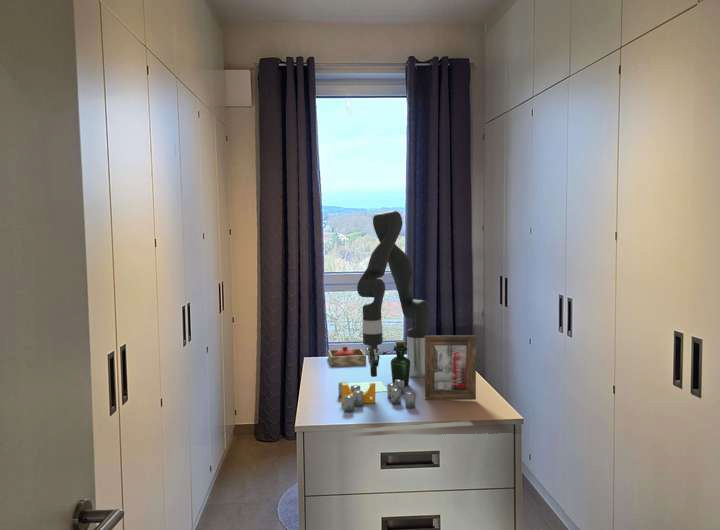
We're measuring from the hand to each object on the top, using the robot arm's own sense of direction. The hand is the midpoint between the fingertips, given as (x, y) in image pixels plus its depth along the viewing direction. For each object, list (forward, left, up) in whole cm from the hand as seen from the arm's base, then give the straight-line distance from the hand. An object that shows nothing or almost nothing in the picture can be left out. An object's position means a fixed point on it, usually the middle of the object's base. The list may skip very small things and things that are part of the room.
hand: (373, 376), depth 196 cm
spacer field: (+1, +6, -8) cm, 10 cm away
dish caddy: (+4, -55, -8) cm, 56 cm away
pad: (+2, -12, -8) cm, 14 cm away
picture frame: (-27, +9, -8) cm, 30 cm away
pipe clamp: (+7, +7, -8) cm, 12 cm away
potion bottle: (-13, -13, -8) cm, 20 cm away
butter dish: (+4, -55, -8) cm, 55 cm away
